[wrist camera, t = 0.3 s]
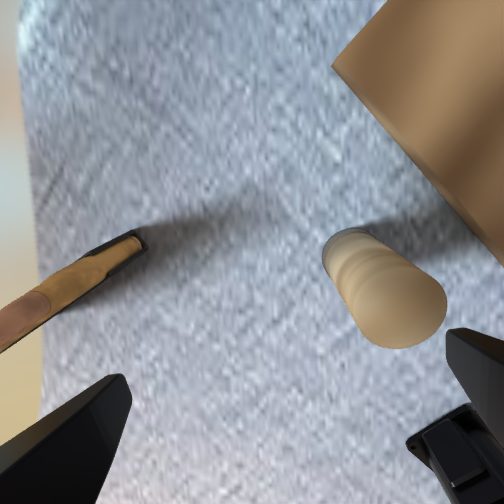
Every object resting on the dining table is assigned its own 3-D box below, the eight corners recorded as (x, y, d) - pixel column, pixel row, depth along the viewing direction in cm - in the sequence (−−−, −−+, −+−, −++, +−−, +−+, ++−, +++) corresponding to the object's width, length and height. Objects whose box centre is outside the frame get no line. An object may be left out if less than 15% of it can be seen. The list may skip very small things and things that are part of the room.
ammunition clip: (133, 228, 20) (-33, 310, 9) (149, 248, 21) (10, 351, 9) (36, 299, 23) (-197, 436, 11) (52, 316, 23) (-156, 465, 12)
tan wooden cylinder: (391, 255, 20) (467, 311, 13) (347, 292, 21) (392, 364, 14) (353, 216, 19) (410, 250, 12) (310, 256, 20) (336, 311, 13)
